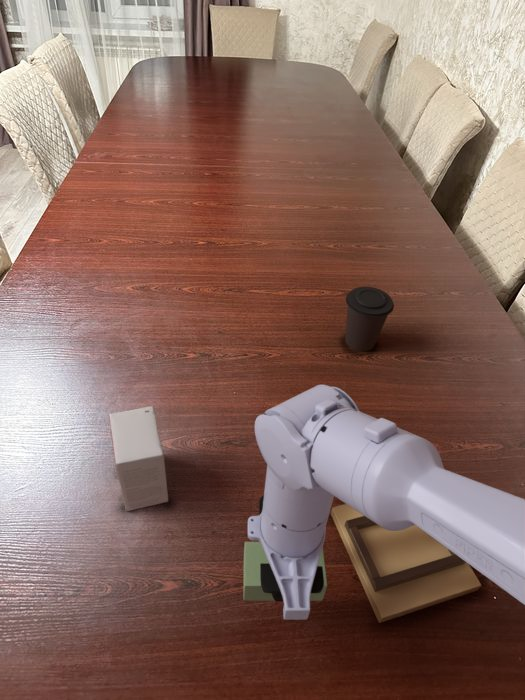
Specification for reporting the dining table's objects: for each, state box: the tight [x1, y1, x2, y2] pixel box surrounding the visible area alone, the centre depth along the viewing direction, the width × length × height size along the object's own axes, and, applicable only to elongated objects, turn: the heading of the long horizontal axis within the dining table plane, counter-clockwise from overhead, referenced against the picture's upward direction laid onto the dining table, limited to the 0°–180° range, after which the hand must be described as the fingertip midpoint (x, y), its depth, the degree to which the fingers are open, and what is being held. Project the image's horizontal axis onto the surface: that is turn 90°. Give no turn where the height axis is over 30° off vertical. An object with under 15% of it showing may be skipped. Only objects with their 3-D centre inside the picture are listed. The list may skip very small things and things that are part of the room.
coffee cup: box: [344, 286, 395, 352], centre depth 90 cm, size 8×8×10 cm
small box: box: [108, 405, 169, 512], centre depth 66 cm, size 8×6×10 cm
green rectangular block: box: [242, 541, 328, 602], centre depth 53 cm, size 4×8×4 cm, turn 91°
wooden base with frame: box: [330, 503, 482, 624], centre depth 64 cm, size 14×13×3 cm
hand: (283, 572), depth 53 cm, fingers closed on green rectangular block, 4 cm apart
